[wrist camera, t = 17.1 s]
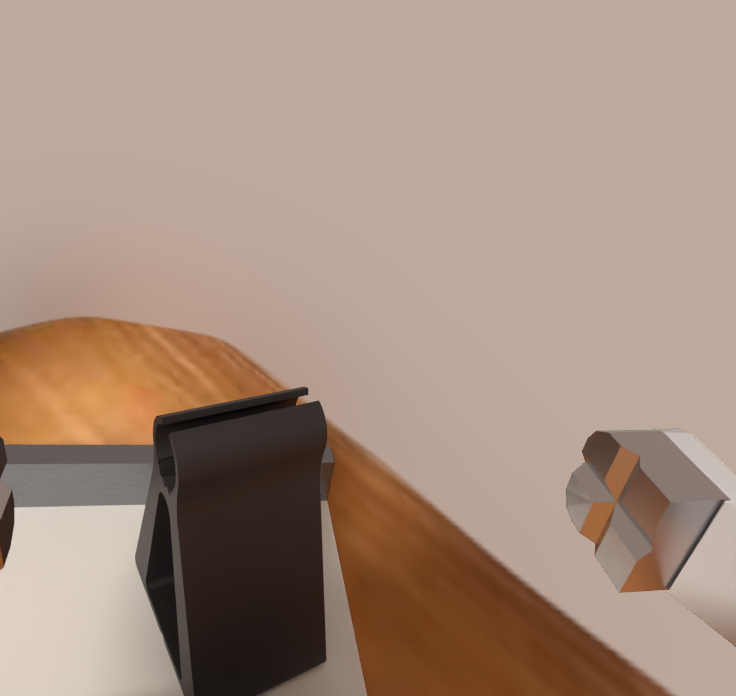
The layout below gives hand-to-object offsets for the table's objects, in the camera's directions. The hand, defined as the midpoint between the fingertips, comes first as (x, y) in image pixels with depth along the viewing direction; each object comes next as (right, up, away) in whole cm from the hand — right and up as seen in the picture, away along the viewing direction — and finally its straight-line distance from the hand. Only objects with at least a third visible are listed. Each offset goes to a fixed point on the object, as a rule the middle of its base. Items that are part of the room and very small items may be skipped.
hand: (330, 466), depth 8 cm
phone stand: (-6, -11, +20) cm, 24 cm away
